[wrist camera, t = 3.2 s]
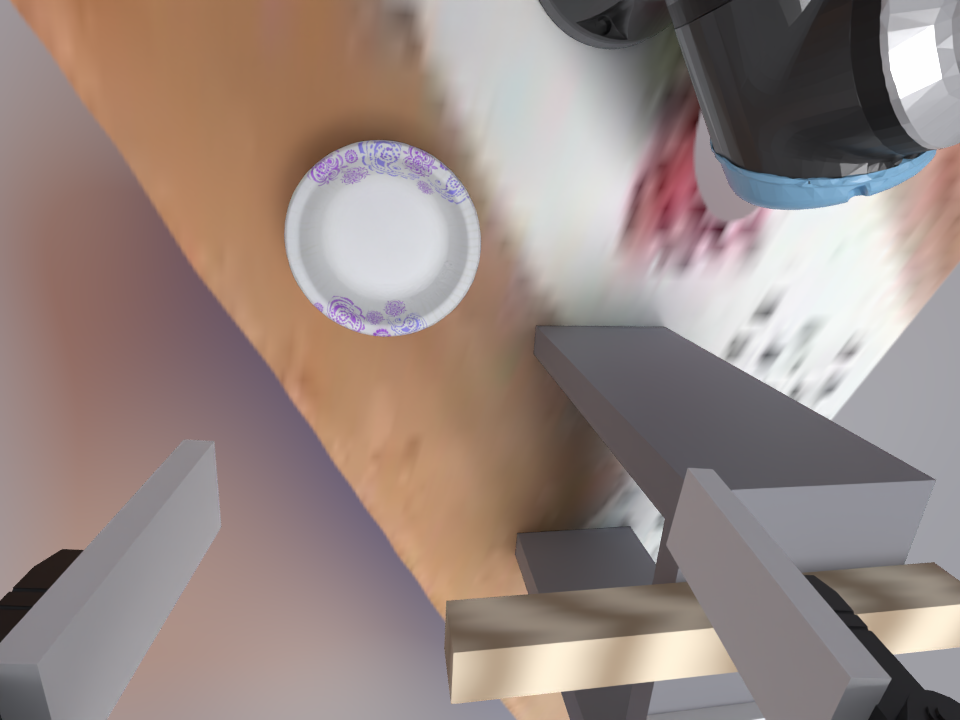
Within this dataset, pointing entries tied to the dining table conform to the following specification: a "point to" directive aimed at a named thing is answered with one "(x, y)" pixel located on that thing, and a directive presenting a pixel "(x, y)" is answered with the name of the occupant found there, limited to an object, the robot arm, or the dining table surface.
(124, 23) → the dining table surface
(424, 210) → the paper bowls
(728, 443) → the scale shelf
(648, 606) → the beech bar
